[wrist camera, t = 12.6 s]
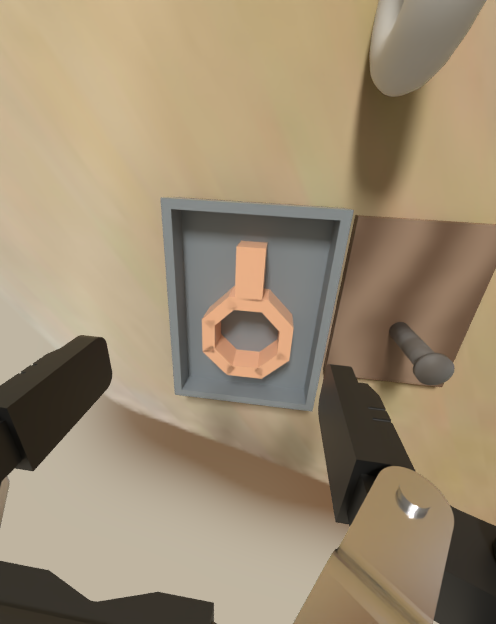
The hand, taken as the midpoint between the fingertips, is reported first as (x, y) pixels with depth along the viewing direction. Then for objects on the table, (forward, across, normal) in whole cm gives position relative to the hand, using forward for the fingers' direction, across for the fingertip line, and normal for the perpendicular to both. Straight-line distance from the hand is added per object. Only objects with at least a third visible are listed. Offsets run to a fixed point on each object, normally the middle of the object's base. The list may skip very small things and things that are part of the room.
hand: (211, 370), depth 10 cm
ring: (+17, 0, +5) cm, 17 cm away
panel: (+18, -14, +3) cm, 23 cm away
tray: (+17, 0, +5) cm, 18 cm away
